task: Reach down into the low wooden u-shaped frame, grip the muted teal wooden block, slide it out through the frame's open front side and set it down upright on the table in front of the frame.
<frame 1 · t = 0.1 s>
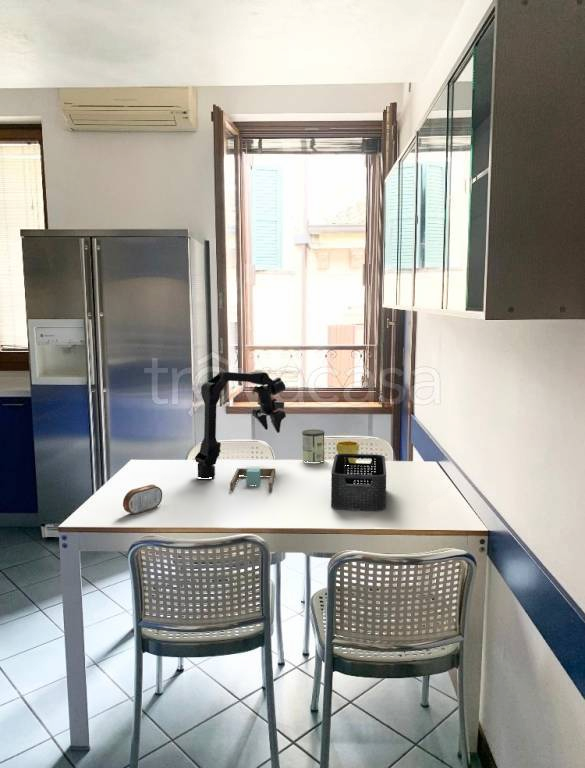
hand: (272, 431, 257), 15 cm above the table, tool pointing down, fingers open, 9 cm apart
tin: (144, 511, 198), on the table
plant pot: (347, 464, 259), on the table
storage bin: (358, 498, 211), on the table
coffee can: (313, 461, 264), on the table
teal block: (253, 484, 228), resting in wooden u-shaped frame
wooden u-shaped frame: (253, 484, 227), on the table
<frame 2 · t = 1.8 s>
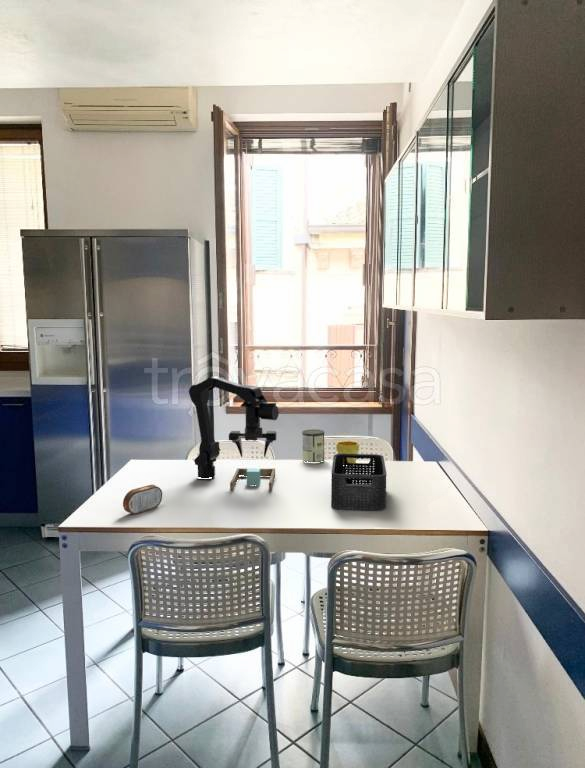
hand: (253, 456, 227), 11 cm above the table, tool pointing down, fingers open, 9 cm apart
nothing on the table moved.
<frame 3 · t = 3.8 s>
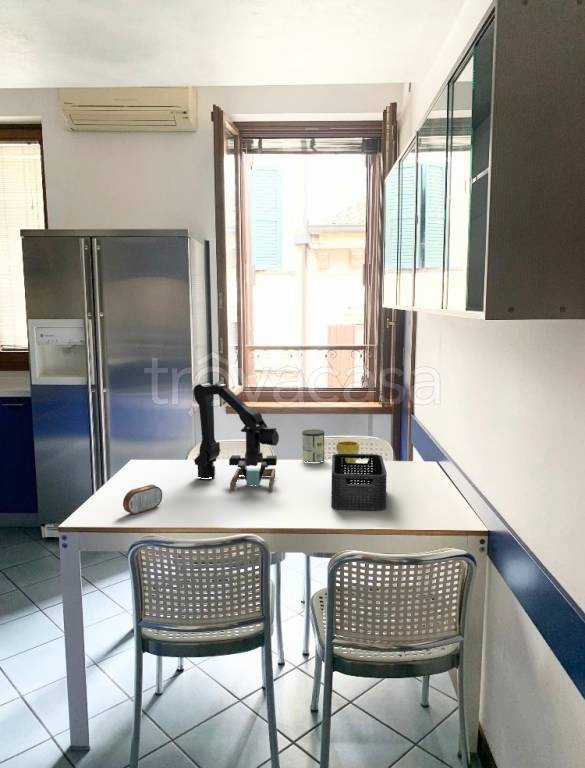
hand: (253, 481, 228), 1 cm above the table, tool pointing down, fingers closed on teal block, 5 cm apart
teal block: (253, 484, 228), resting in wooden u-shaped frame, touching gripper
everything else where it was.
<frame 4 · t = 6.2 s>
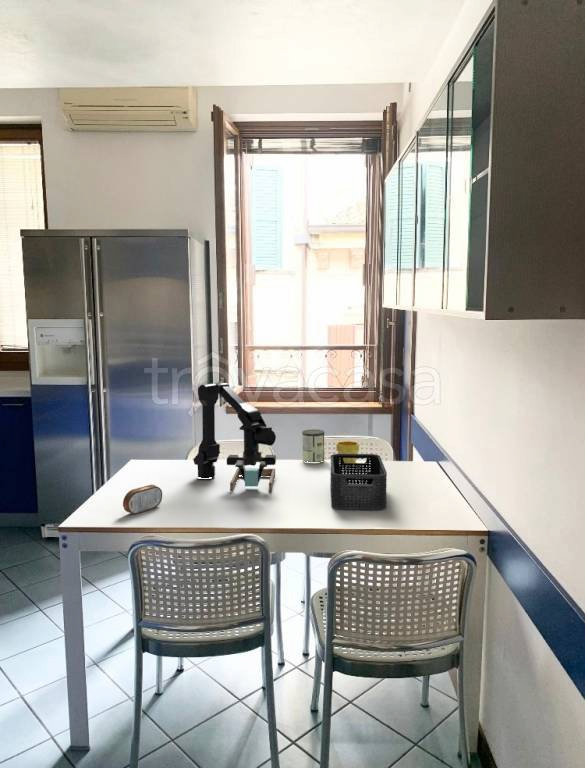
hand: (251, 481, 221), 3 cm above the table, tool pointing down, fingers closed on teal block, 5 cm apart
teal block: (252, 484, 221), point 2 cm above the table, touching gripper
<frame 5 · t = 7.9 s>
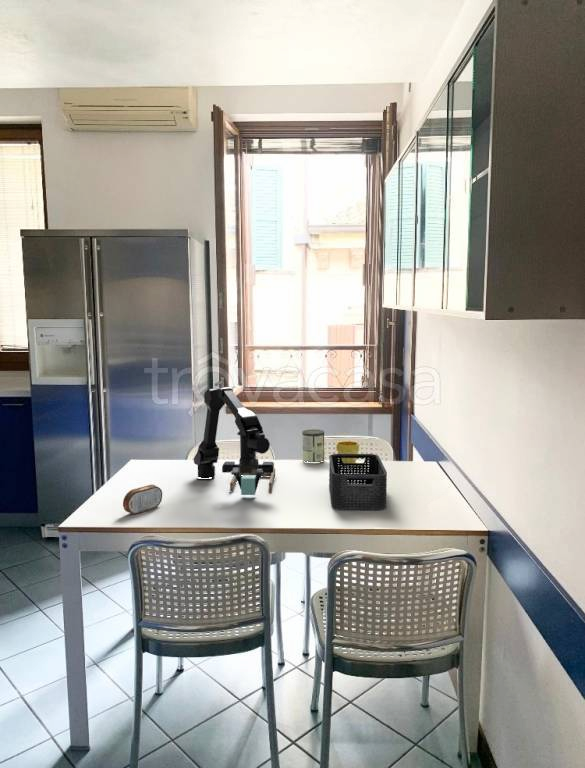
hand: (248, 489, 211), 3 cm above the table, tool pointing down, fingers closed on teal block, 5 cm apart
teal block: (248, 492, 211), point 2 cm above the table, touching gripper
when the fingers open (2 cm above the table, at t = 8.9 s): teal block drops 1 cm, on the table.
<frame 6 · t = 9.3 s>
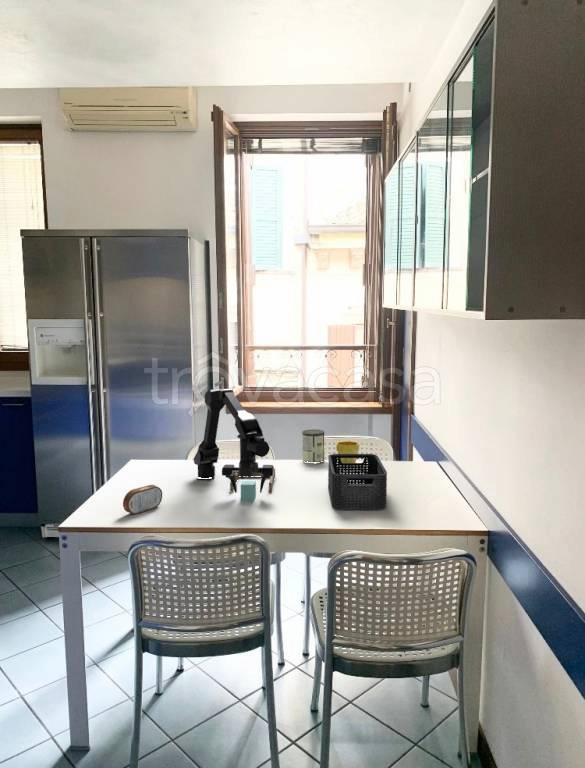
hand: (248, 492, 210), 2 cm above the table, tool pointing down, fingers open, 9 cm apart
teal block: (248, 498, 211), on the table
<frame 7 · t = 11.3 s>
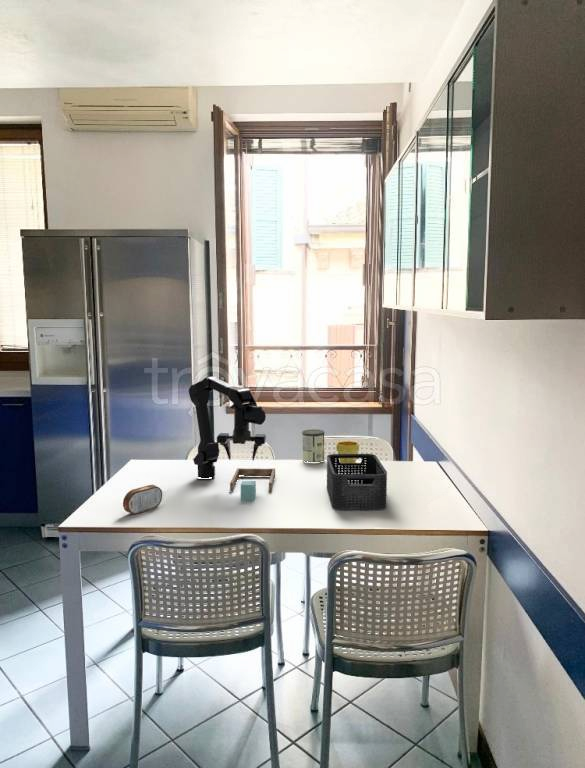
hand: (241, 459, 223), 11 cm above the table, tool pointing down, fingers open, 9 cm apart
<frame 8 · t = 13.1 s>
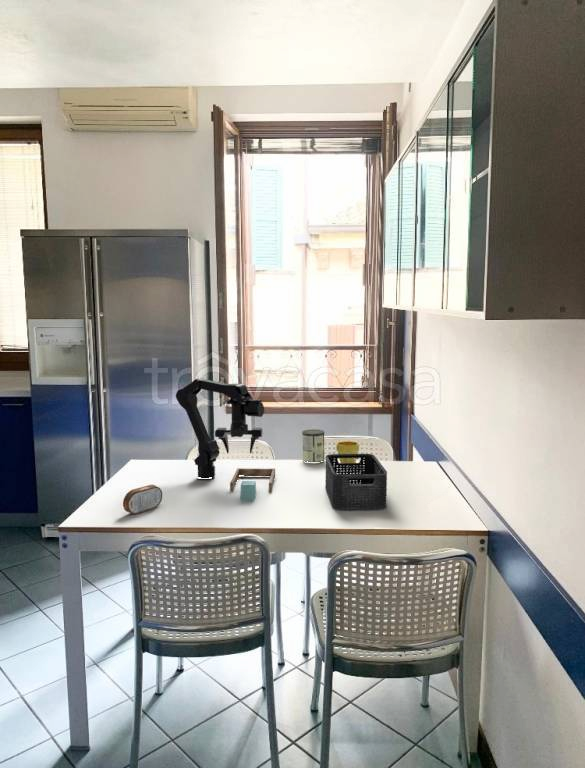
hand: (239, 453, 230), 12 cm above the table, tool pointing down, fingers open, 9 cm apart
at the end: teal block inside the target area on the table beside the wooden u-shaped frame (0.0 cm from its centre), on the table; teal block tilted 0°; the gripper is holding nothing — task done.
